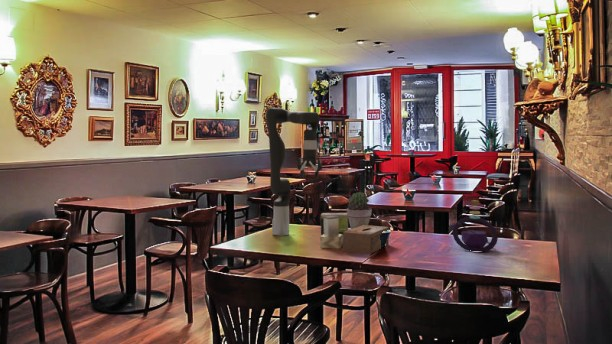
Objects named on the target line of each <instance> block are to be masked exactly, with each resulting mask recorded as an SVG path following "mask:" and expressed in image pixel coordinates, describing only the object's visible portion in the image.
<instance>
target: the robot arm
mask: <svg viewBox="0 0 612 344" xmlns="http://www.w3.org/2000/svg"><path fill="white" fill-rule="evenodd" d="M265 113H266V115H265V118H266V119H265V120H266V125H267V132H268V141H269V143H268V144H269V158H270V159H269V160H270V161H269V162H270V177H269V178H270V181H269V182H270V184H269V185H270V191H271V192H272V193H271V194H273V195H275V196H278V197H277V198H276V199H275V200H274V201H273V218H272V219H271V225H272V226H271V228H272V230H271V231H272V233H271V234H272V235H273V236H280V237H281V236H282V237H283V236H288V235H290V201H291V193H292V191H291V190H292V189H291V188H292V187H291V182H290V180H289V179H287V178H281V170H282V166H283V164H284V162H285V159H286V146H285V143H284V140H283V139H282V137H281V136H280V134H279V132H278V130H277V129H278V127H277V124H279V125H280V124H284V123H293V124H297V125H298V124H299V125H304V126H309V128H307V129H305V130H304V131H303V142H302V143H303V144H302V157H303V158H298V159H297V170H300V177H301V178H305V171H306V169H307V168H312V169H314V179H318V178H319V175H320V173H319V171H322V170H323V164H322V163H323V161H322V159H317V155H318V154H317V153H318V151H317V150H318V147H317V146H318V145H317V144H318V143H317V131H318V129H319V125H320V122H321V121H320V120H321V118H320V115H319V113H318V112H315V111H302V110H301V111H300V110H291V111H290V110H287V109H285V108H282V107H269V108H268V109H267V110H266V112H265Z"/></svg>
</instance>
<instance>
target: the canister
mask: <svg viewBox="0 0 612 344" xmlns="http://www.w3.org/2000/svg"><path fill="white" fill-rule="evenodd" d="M323 218H324V235H325V236H328V237H331V236H339V222H338V218H339V217H337V216H323Z"/></svg>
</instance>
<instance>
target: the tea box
mask: <svg viewBox="0 0 612 344" xmlns="http://www.w3.org/2000/svg"><path fill="white" fill-rule="evenodd" d="M323 216H337V217H339V218H338V222H339V234H343V232H345V231H348V230H349V223H348V222H349V218H348V213H347V212H322V213H321V214H320V237H321V236H322V235H323V234H324V218H323Z"/></svg>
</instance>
